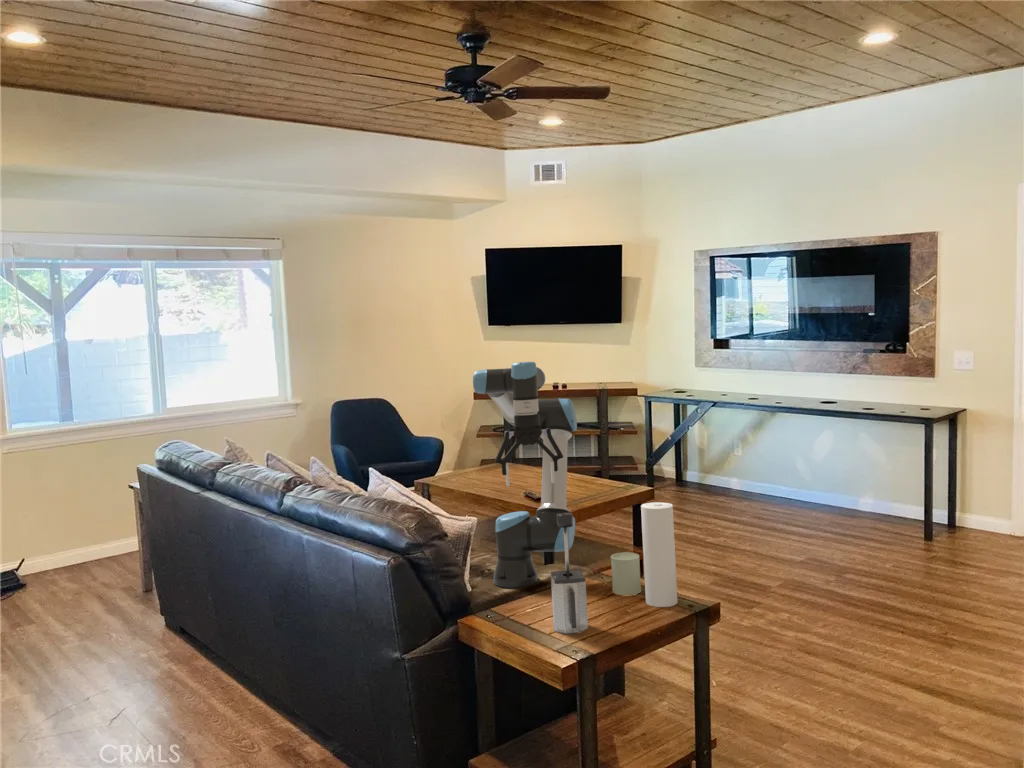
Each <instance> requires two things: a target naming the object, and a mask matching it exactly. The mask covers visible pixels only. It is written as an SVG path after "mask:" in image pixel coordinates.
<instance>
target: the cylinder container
mask: <svg viewBox="0 0 1024 768" xmlns="http://www.w3.org/2000/svg"><path fill="white" fill-rule="evenodd" d="M640 511H641V513H640V514H641V515H640V516H641V533H642V552H643V553H642V554H643V571H644V573H643V574H644V594H645V603H646V604H647V606H650V607H655V608H656V607H657V608H668V607H673V606H675V605H677V604H678V586H677V585H678V584H677V567H676V547H675V545H676V544H675V529H674V527H675V526H674V505H673V504H672V503H670V502H660V501H659V502H658V501H656V502H647V503H642V504H641V505H640Z"/></svg>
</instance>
